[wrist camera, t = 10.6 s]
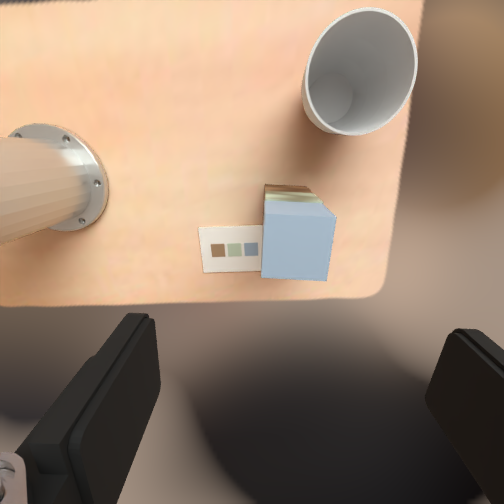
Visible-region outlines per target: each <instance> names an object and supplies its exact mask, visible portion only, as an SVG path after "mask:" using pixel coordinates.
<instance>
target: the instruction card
mask: <svg viewBox="0 0 504 504" xmlns="http://www.w3.org/2000/svg"><path fill="white" fill-rule="evenodd" d="M198 230H199V238H200V246H201V254H202V262H203V270H204V273H207V272H242V271H261V253H262V234H263V225H245V226H219V227H198Z"/></svg>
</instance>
